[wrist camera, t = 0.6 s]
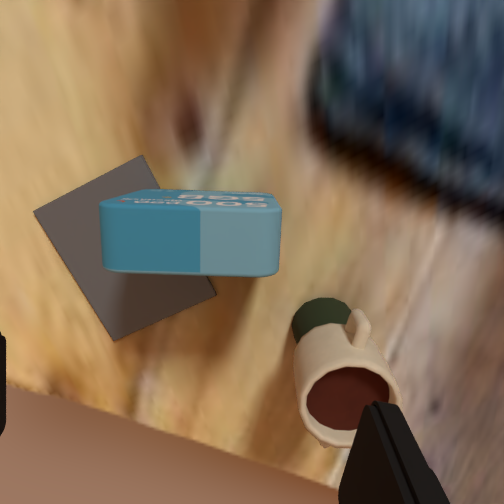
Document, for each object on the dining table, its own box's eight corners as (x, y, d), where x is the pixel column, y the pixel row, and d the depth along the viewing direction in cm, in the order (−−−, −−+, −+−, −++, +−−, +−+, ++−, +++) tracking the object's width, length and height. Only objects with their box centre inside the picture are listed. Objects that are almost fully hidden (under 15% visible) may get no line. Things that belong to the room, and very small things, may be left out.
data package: (272, 192, 35) (284, 209, 23) (270, 240, 36) (280, 279, 24) (143, 188, 35) (89, 203, 23) (145, 236, 36) (94, 273, 24)
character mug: (341, 376, 40) (375, 480, 27) (275, 361, 39) (280, 459, 27) (373, 281, 37) (429, 349, 24) (303, 265, 37) (322, 324, 24)
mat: (142, 154, 34) (140, 155, 34) (216, 294, 38) (215, 295, 37) (35, 210, 36) (32, 211, 36) (115, 339, 39) (113, 340, 39)
